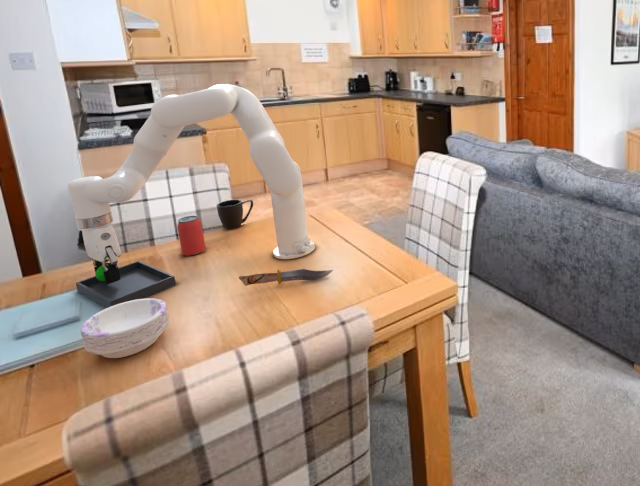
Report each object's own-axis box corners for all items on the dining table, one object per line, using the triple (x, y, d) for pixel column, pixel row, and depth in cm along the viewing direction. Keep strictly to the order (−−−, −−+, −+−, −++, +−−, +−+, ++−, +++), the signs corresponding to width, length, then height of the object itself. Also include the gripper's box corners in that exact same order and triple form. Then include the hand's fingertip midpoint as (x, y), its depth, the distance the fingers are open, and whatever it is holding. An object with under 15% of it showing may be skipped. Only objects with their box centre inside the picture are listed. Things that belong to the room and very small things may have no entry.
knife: (334, 276, 137) (333, 260, 136) (334, 278, 136) (332, 262, 135) (241, 290, 130) (239, 274, 129) (240, 293, 129) (237, 276, 128)
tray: (176, 284, 134) (174, 276, 133) (112, 311, 121) (110, 301, 120) (140, 268, 144) (138, 260, 143) (77, 291, 131) (75, 282, 130)
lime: (106, 285, 130) (103, 270, 129) (92, 284, 131) (89, 268, 130) (124, 276, 135) (121, 261, 134) (110, 275, 136) (107, 260, 135)
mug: (258, 223, 179) (255, 200, 176) (223, 232, 171) (219, 208, 169) (252, 218, 184) (249, 195, 182) (218, 226, 176) (214, 203, 174)
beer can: (189, 248, 158) (183, 215, 155) (210, 247, 158) (204, 214, 156) (177, 257, 151) (171, 222, 149) (198, 256, 152) (192, 221, 149)
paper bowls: (187, 332, 111) (181, 302, 110) (116, 374, 97) (109, 341, 96) (143, 320, 116) (137, 292, 115) (71, 359, 102) (63, 327, 101)
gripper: (125, 221, 128) (138, 280, 132) (98, 211, 136) (111, 267, 140) (91, 230, 122) (106, 293, 126) (64, 220, 130) (79, 278, 134)
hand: (108, 279), depth 133 cm, fingers closed on lime, 5 cm apart
